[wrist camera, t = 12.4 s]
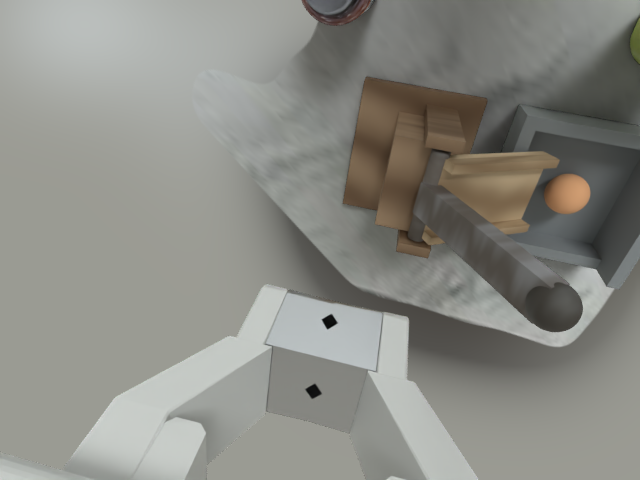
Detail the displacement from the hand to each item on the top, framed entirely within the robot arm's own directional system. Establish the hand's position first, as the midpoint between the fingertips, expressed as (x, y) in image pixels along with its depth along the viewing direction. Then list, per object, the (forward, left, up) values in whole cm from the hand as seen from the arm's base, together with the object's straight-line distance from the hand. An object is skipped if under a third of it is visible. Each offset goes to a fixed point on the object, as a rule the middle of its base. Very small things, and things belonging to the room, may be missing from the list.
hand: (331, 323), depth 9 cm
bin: (+10, +19, -39) cm, 45 cm away
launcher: (+10, +9, -33) cm, 35 cm away
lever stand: (+10, +3, -39) cm, 40 cm away
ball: (+10, +19, -36) cm, 42 cm away
